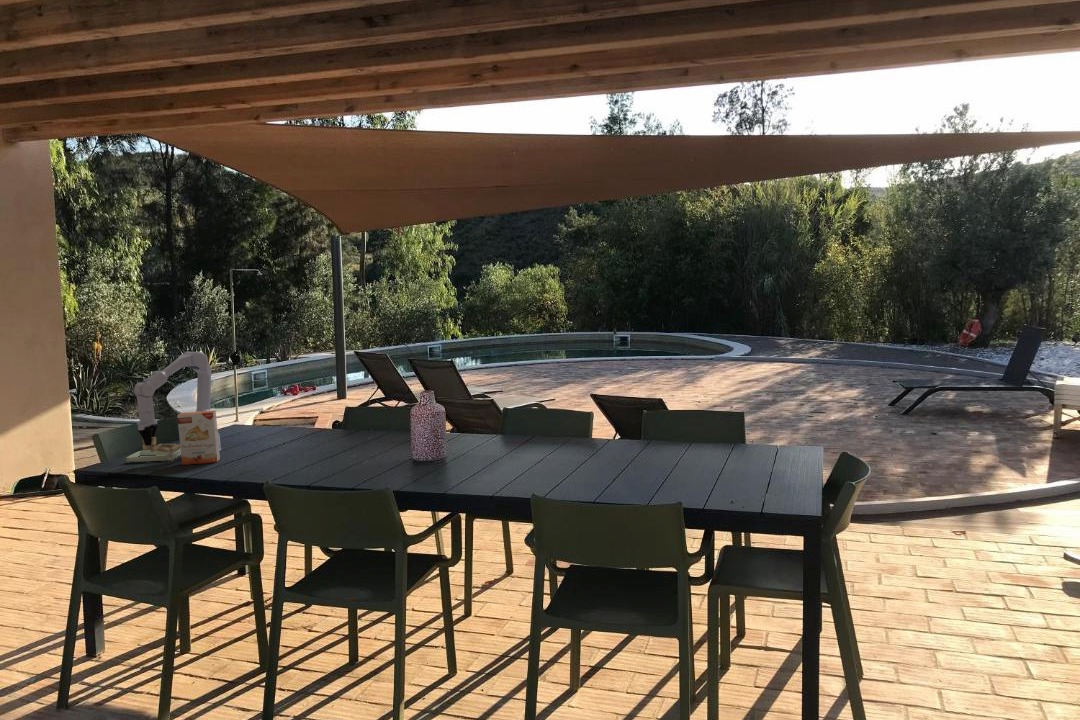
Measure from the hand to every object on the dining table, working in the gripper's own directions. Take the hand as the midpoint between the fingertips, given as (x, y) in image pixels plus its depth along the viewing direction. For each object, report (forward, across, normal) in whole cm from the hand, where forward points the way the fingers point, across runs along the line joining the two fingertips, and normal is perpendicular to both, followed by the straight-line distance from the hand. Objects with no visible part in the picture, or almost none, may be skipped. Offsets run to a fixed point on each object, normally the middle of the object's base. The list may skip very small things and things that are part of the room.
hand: (149, 444), depth 359 cm
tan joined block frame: (+2, 0, +4) cm, 5 cm away
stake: (+8, 0, +8) cm, 11 cm away
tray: (+8, -12, -3) cm, 15 cm away
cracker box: (+9, +2, +21) cm, 23 cm away
